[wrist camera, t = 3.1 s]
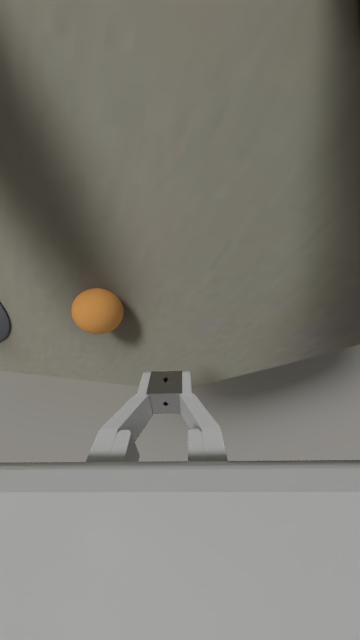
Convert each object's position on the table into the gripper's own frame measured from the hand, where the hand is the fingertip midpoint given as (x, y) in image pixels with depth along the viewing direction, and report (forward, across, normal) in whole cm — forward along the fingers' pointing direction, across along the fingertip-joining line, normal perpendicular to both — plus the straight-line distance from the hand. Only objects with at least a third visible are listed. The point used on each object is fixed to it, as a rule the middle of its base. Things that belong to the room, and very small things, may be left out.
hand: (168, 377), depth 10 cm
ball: (+10, +9, -1) cm, 13 cm away
